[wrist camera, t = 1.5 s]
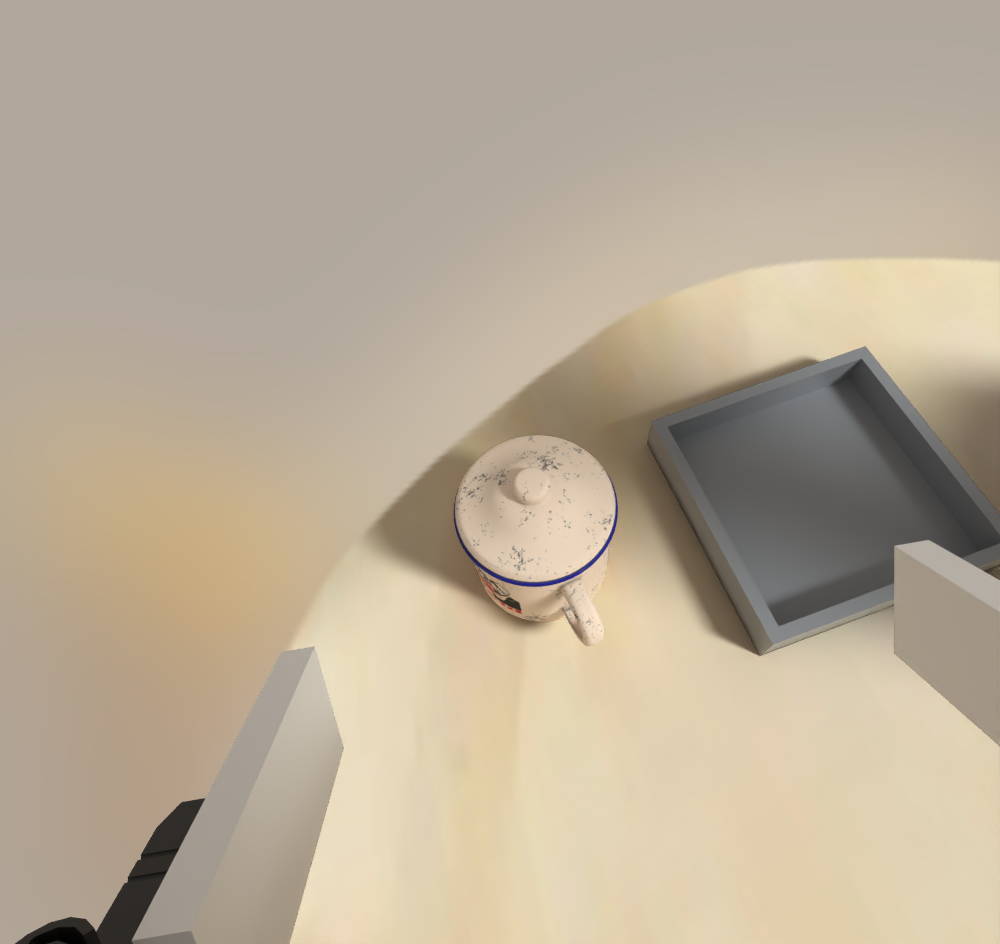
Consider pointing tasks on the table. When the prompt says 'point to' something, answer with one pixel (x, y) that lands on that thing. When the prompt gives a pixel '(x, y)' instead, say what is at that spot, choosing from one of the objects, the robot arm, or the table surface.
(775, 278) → the table surface
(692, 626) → the table surface
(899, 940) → the table surface
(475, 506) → the teacup with lid
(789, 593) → the tray
